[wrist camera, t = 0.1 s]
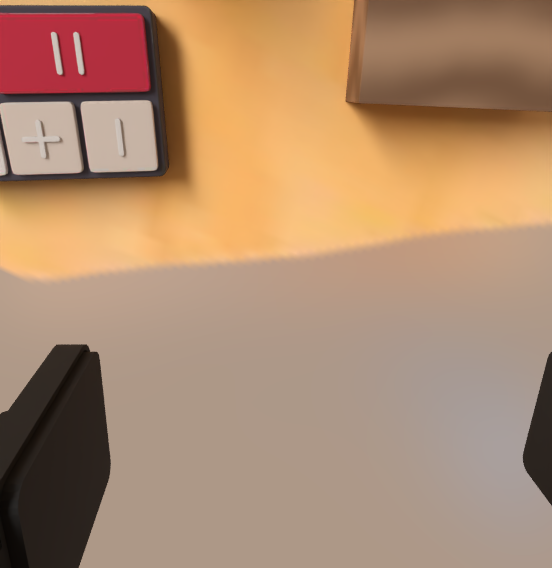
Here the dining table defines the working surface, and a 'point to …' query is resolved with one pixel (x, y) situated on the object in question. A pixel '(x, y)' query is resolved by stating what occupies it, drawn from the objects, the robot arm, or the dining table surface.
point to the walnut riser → (452, 53)
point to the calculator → (80, 93)
